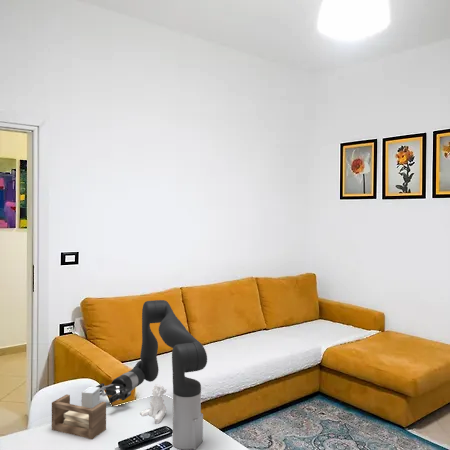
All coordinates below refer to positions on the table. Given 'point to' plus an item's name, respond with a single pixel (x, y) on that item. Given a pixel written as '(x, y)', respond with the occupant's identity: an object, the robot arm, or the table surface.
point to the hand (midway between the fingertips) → (100, 398)
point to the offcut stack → (76, 419)
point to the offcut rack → (95, 414)
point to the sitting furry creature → (156, 405)
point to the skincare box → (91, 397)
